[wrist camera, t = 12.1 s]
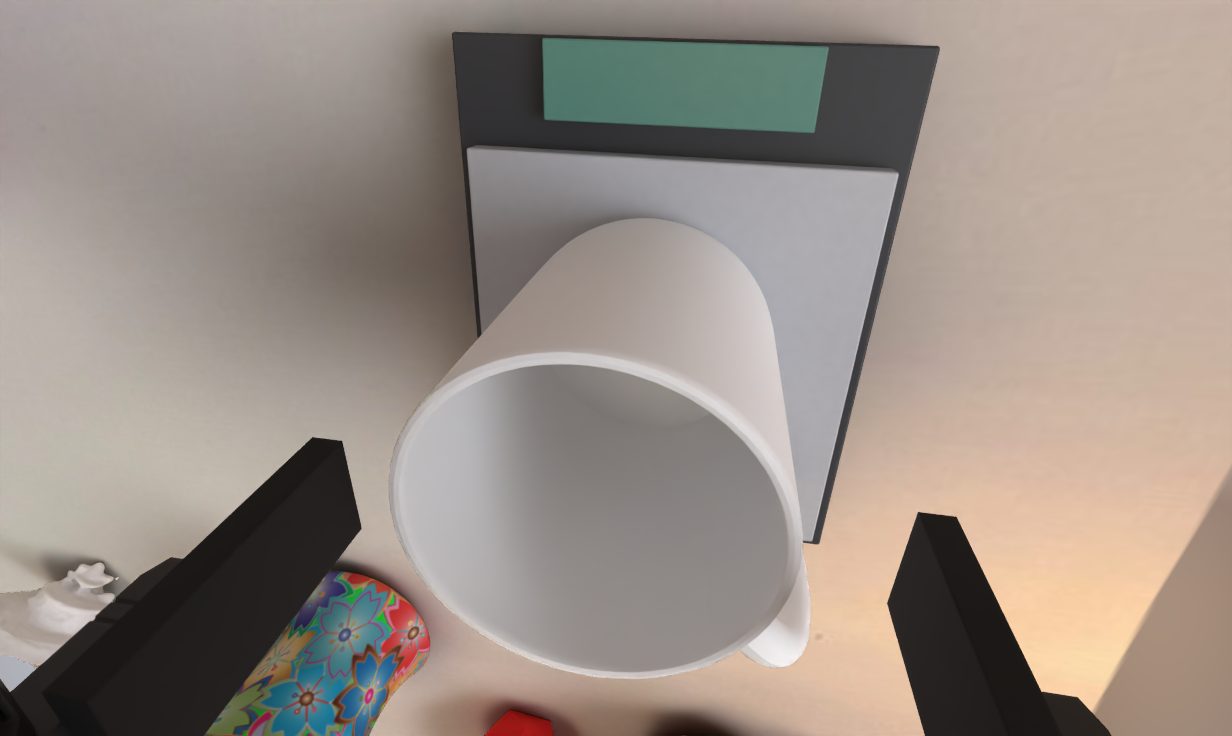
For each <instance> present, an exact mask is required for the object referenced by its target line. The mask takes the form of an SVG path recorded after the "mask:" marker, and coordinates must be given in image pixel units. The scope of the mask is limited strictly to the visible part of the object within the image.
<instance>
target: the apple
mask: <svg viewBox="0 0 1232 736" xmlns="http://www.w3.org/2000/svg"><path fill="white" fill-rule="evenodd" d="M484 736H554V735H553V730H552V724H551V721H548V720H545V719H541V718H537V717H534V716H530V715H527V714H523V713H520V712H516V711H512V710H509V711H508V712H507V713H506V714H505V715H504V716H503V717H502V718H501V719H500V720H499V721H498V722H497V723H496V724H495V725H494V726H493V727H492V728H491V729H490V730H489V731H488V732H487V733H486V734H485V735H484Z"/></svg>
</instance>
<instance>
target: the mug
mask: <svg viewBox="0 0 1232 736" xmlns="http://www.w3.org/2000/svg"><path fill="white" fill-rule="evenodd" d="M429 650H430V638H429V634H428V630H427V627H426V625H425V623H424V621H423V619H422V617H421V616H420V614H419V613H418V612H417V610H416V609H415V608H414V607H413V606H412V605H411V604H410V603H409V602H408V601H407V600H406V599H405V598H404V597H403V596H401V595H400V594H399V593H397V592H396V591H395V590H393V589H392V588H390V587H388V586H387V585H385V584H383V583H381V582H379V581H377V580H374V579H372V578H369V577H366V576H363V575H359V574H355V573H350V572H342V571H332V572H328V573H327V574H326V576H325V577H324V578H323V580H322V581H321V582H320V584H319V585H318V586H317V588H316V589H315V590H314V592H313V593H312V594H311V595H310V597H309V598H308V599H307V601H306V602H305V603H304V605H303V606H302V607H301V609H300V610H299V611H298V613H297V614H296V615H295V617H294V618H293V619H292V620H291V622H290V623H289V624H288V626H287V627H286V628H285V630H284V631H283V632H282V634H281V635H280V636H279V638H278V639H277V640H276V641H275V643H274V644H273V645H272V647H271V648H270V649H269V651H268V652H267V653H266V655H265V656H264V657H263V659H262V660H261V661H260V663H259V664H258V665H257V666H256V668H255V669H254V670H253V672H252V673H251V674H250V676H249V677H248V678H247V680H246V681H245V682H244V684H243V685H242V686H241V688H240V689H239V690H238V691H237V693H236V694H235V695H234V697H233V698H232V699H231V701H230V702H229V703H228V705H227V706H226V707H225V709H224V710H223V711H222V713H221V714H220V715H219V716H218V718H217V719H216V720H215V722H214V723H213V724H212V726H211V727H210V728H209V730H208V731H207V732H206V734H205V735H204V736H369V735H370V732H371V730H372V728H373V726H374V724H375V722H376V720H377V719H378V717H379V715H380V713H381V712H382V710H383V708H384V707H385V705H386V704H387V702H388V701H389V699H390V698H391V696H392V695H393V694H394V693H395V691H396V690H397V689H398V688H399V687H400V686H401V685H402V684H403V683H404V682H405V681H406V680H407V679H408V678H409V677H410V676H412V675H413V674H415V673H416V672H417V671H418V670H419V669H420V668H421V667H422V666H423V665H424V664H425V662H426V660H427V658H428V655H429Z"/></svg>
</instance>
